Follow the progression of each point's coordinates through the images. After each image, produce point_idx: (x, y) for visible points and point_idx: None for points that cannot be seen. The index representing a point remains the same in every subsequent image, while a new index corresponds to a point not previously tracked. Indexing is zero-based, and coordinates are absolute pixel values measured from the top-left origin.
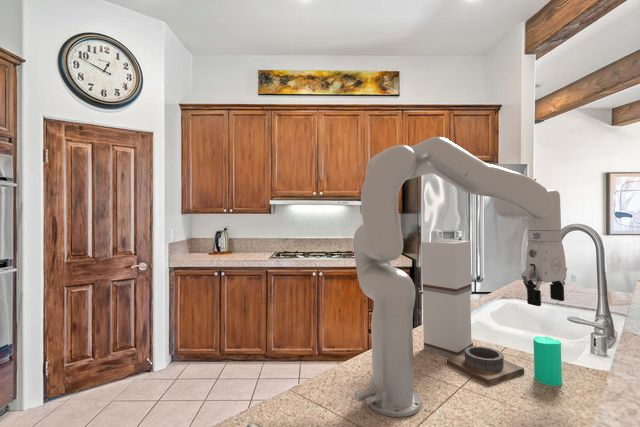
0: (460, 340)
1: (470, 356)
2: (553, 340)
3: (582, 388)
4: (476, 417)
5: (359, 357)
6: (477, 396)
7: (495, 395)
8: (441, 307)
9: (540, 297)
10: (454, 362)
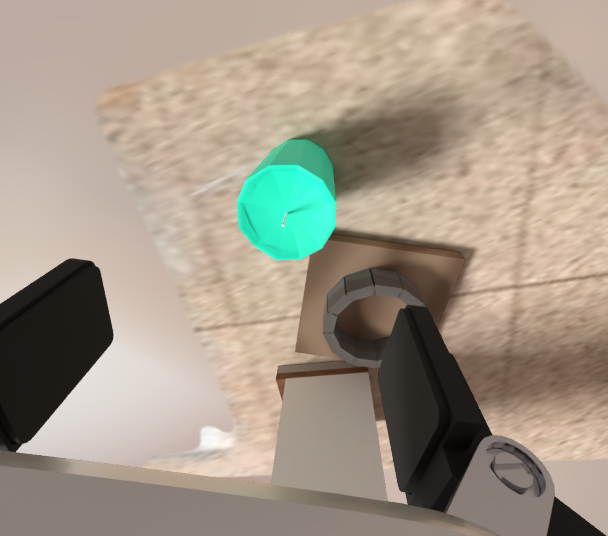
0: (352, 396)
1: None
2: (247, 203)
3: (268, 85)
4: None
5: None
6: (539, 241)
7: (502, 217)
8: None
9: (434, 355)
10: None
